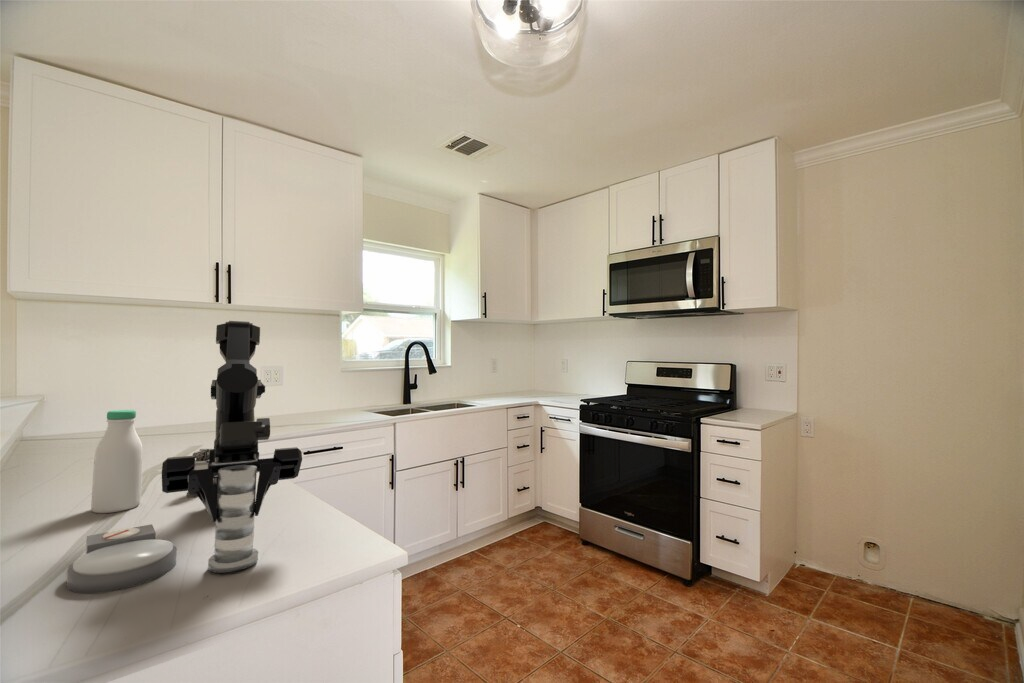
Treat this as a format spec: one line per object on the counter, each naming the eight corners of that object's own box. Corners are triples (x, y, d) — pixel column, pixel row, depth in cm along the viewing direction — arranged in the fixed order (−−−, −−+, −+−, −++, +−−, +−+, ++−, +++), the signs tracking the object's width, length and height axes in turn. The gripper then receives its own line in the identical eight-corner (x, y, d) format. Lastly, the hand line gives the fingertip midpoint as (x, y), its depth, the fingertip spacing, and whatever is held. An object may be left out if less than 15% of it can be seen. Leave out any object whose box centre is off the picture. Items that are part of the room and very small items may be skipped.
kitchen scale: (165, 540, 78) (166, 519, 78) (182, 573, 66) (183, 548, 66) (67, 560, 69) (69, 537, 70) (66, 603, 58) (67, 574, 58)
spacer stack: (251, 550, 73) (255, 462, 74) (263, 563, 69) (267, 469, 69) (203, 561, 69) (208, 467, 69) (213, 576, 64) (218, 476, 65)
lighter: (203, 488, 110) (205, 446, 110) (218, 487, 110) (220, 446, 111) (182, 497, 102) (184, 452, 102) (198, 497, 102) (200, 452, 103)
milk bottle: (148, 505, 96) (153, 409, 97) (103, 516, 89) (109, 413, 90) (128, 500, 99) (133, 408, 100) (82, 510, 92) (88, 411, 93)
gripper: (166, 403, 68) (155, 498, 58) (302, 399, 78) (312, 479, 68) (167, 448, 74) (157, 540, 64) (293, 438, 84) (301, 517, 75)
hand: (236, 517), depth 68 cm, fingers closed on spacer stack, 5 cm apart
